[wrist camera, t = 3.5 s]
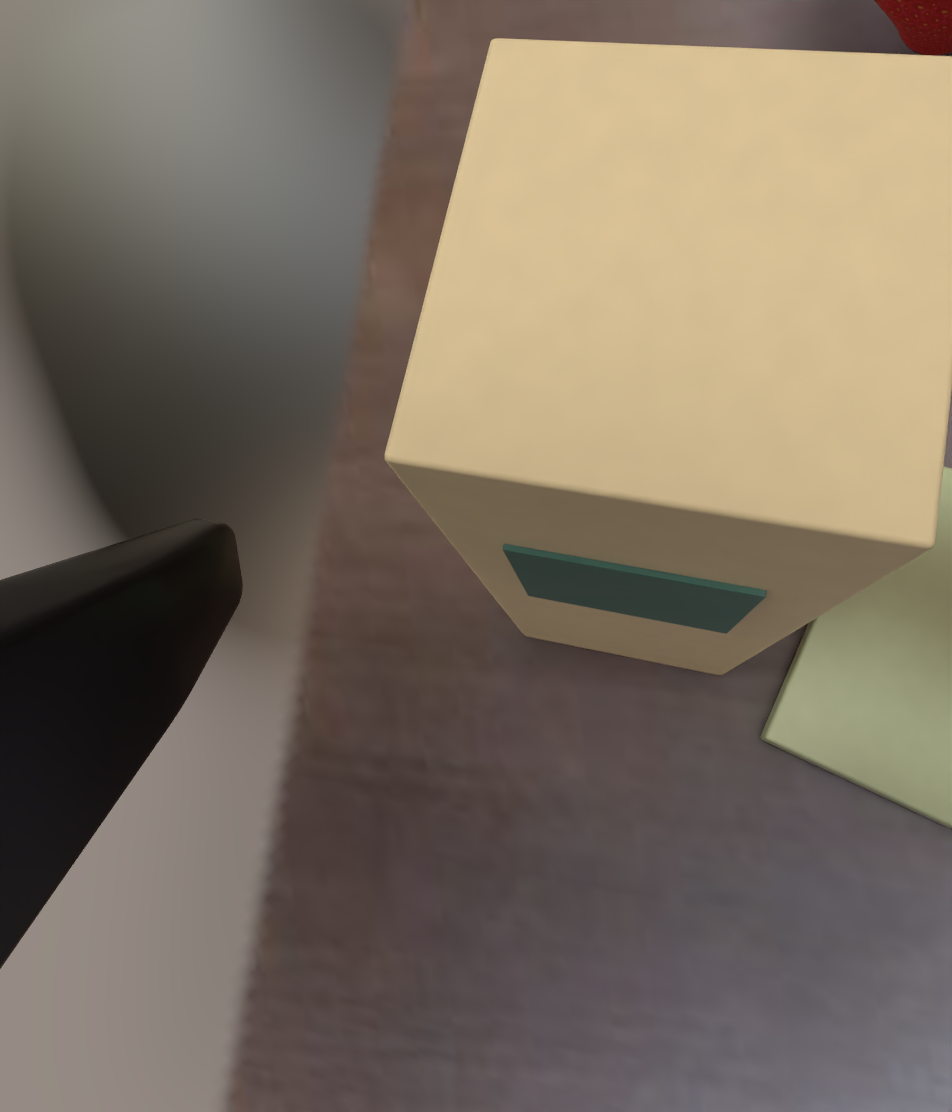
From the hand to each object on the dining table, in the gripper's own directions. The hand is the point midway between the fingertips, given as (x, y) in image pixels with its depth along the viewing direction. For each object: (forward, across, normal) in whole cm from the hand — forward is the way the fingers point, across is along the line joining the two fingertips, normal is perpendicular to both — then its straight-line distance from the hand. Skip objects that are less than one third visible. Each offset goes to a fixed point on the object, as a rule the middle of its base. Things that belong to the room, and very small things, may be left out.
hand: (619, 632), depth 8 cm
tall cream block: (+9, 0, +5) cm, 11 cm away
